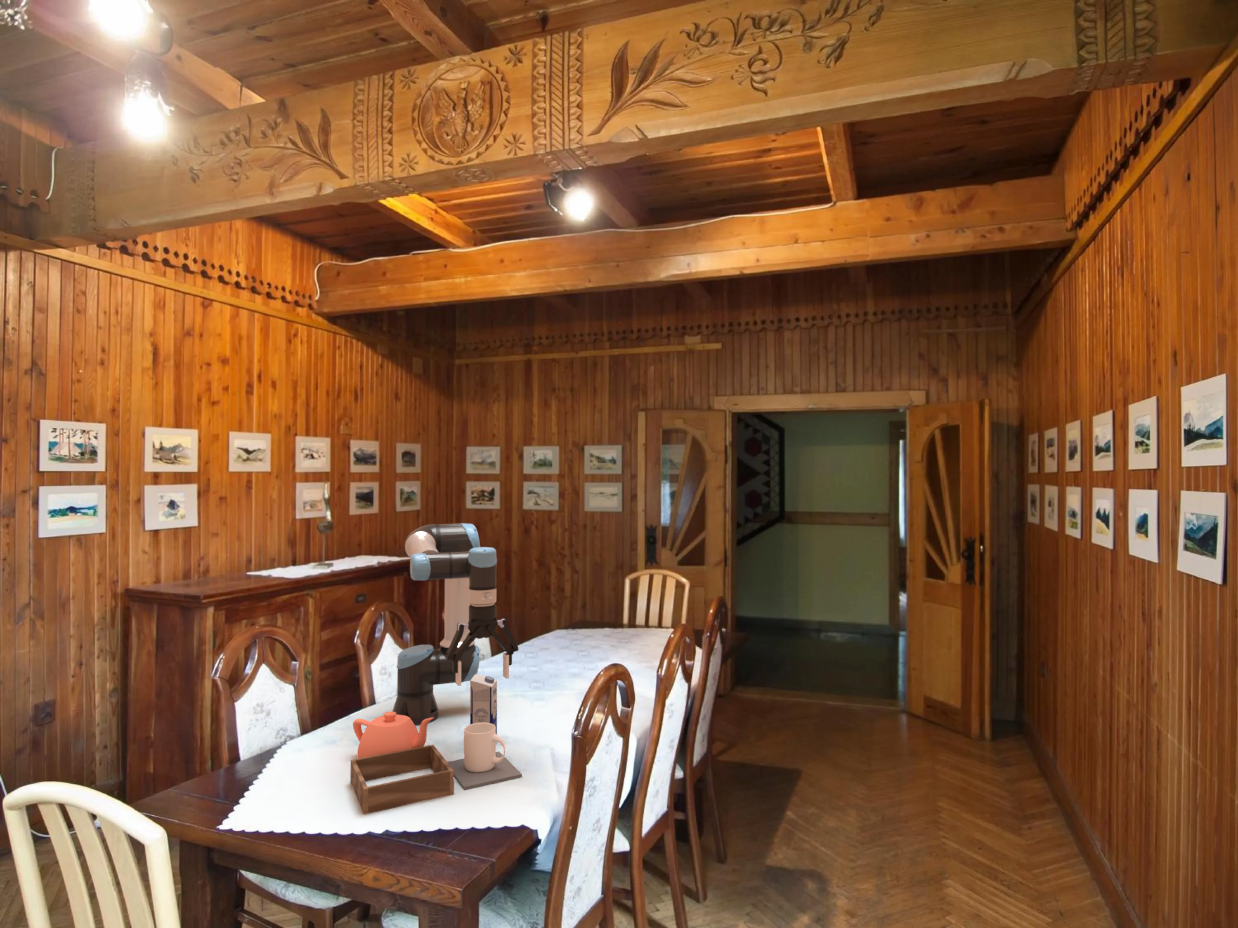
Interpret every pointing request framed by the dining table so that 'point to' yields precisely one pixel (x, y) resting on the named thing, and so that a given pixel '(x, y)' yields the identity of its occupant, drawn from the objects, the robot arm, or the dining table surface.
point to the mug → (481, 747)
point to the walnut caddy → (401, 789)
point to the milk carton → (483, 700)
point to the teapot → (389, 734)
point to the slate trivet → (484, 773)
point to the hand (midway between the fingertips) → (482, 680)
